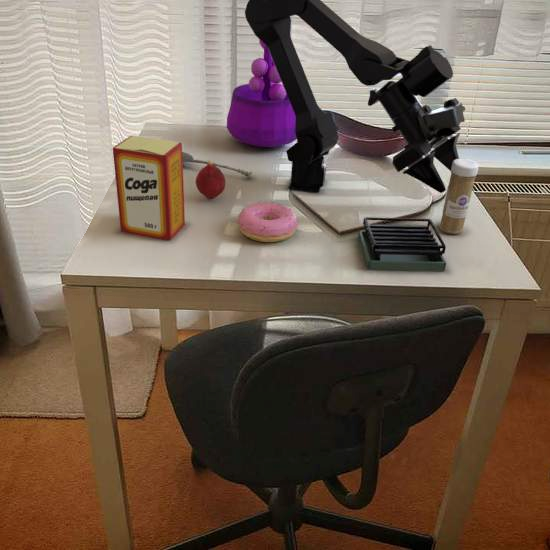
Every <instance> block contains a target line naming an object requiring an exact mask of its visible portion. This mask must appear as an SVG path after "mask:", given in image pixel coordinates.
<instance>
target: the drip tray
mask: <svg viewBox="0 0 550 550" xmlns="http://www.w3.org/2000/svg"><path fill="white" fill-rule="evenodd" d="M357 240H358V243H359V246H360V249H361V252H362V253H361V254H362V256H363V259H364V262H365V266H366V268H367V270H368V271H369V270H370V271H412V272H413V271H416V272H417V271H418V272H446V267H447V261H446V260H445V258H444V256H443V255H442V256H438V258H437V262H430V261H429V259H428V257H427V255H388V254H381V257H380V261H374V259H373V256H372V253H371V250H370V247H369V244H368V241H367V233H366V231H365V230H360V229H359V230H358V233H357Z"/></svg>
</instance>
